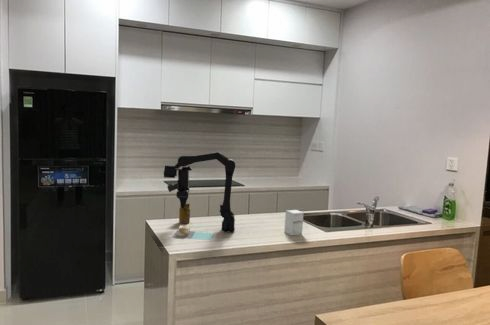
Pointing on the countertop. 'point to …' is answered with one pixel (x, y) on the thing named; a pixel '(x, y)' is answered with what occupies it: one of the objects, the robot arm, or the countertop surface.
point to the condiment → (184, 214)
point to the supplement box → (293, 222)
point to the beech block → (183, 230)
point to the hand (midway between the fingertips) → (183, 206)
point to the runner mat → (196, 235)
